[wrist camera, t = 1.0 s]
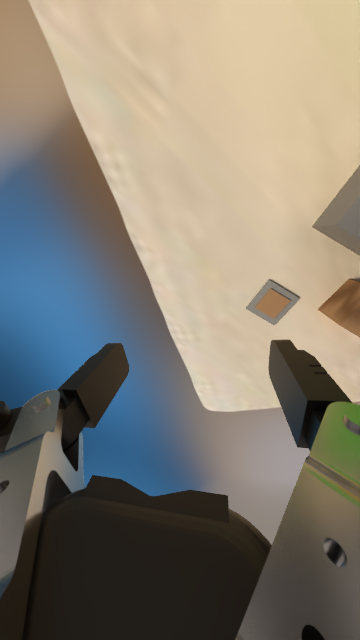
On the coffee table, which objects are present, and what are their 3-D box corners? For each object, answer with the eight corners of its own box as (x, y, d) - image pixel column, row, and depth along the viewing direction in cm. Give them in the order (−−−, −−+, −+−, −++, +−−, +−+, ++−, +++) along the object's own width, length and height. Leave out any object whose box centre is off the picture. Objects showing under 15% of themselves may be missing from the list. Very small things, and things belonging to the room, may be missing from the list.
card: (268, 279, 30) (270, 280, 29) (298, 297, 30) (300, 298, 30) (245, 308, 32) (246, 309, 32) (273, 324, 33) (274, 325, 32)
